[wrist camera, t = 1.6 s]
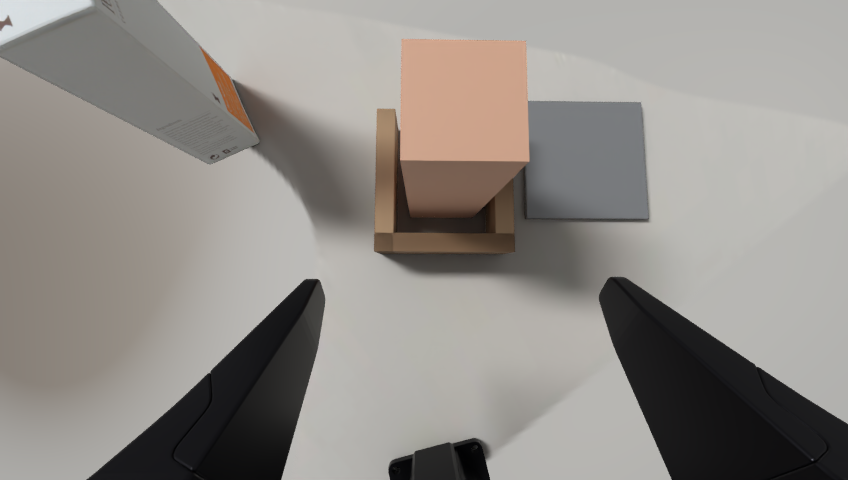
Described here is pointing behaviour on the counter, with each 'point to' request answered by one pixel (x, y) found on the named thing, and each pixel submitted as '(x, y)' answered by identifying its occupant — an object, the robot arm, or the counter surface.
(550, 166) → the mat
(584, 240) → the counter surface
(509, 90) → the block
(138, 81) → the skincare box
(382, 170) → the u-shaped frame
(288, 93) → the counter surface
